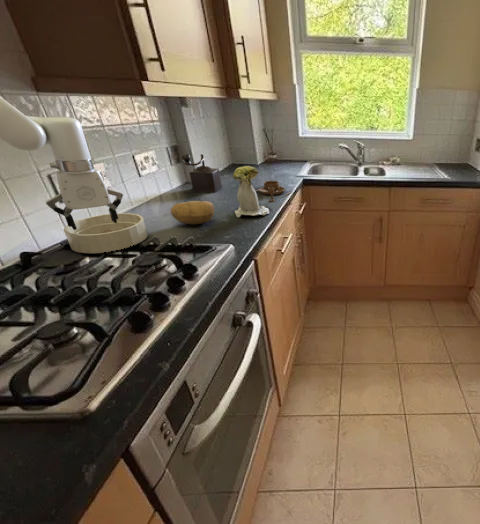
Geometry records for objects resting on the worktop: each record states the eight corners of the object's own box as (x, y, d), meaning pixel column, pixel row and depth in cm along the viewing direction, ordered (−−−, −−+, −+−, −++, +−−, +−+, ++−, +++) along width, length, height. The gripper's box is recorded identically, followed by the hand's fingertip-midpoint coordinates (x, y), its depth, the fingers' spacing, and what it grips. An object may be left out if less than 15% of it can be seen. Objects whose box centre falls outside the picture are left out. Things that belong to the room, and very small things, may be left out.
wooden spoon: (122, 245, 100) (120, 237, 98) (111, 247, 98) (108, 239, 97) (112, 232, 108) (109, 225, 107) (101, 234, 106) (98, 227, 105)
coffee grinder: (199, 187, 164) (191, 149, 156) (222, 187, 165) (216, 149, 157) (186, 195, 150) (177, 154, 142) (212, 195, 151) (204, 154, 143)
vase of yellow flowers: (268, 218, 127) (263, 169, 119) (233, 219, 124) (225, 169, 116) (269, 208, 137) (264, 163, 129) (236, 209, 134) (229, 163, 126)
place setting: (295, 191, 162) (294, 179, 160) (274, 202, 145) (273, 189, 142) (263, 188, 166) (261, 176, 163) (239, 198, 149) (237, 185, 146)
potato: (177, 220, 121) (172, 198, 118) (218, 218, 125) (215, 197, 121) (170, 229, 113) (164, 207, 109) (214, 227, 116) (210, 205, 113)
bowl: (57, 257, 92) (48, 237, 89) (88, 232, 109) (82, 214, 106) (137, 251, 97) (131, 232, 94) (155, 228, 114) (150, 211, 111)
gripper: (34, 171, 83) (58, 235, 90) (117, 165, 94) (132, 222, 102) (31, 166, 87) (54, 227, 95) (110, 161, 99) (126, 216, 106)
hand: (95, 225), depth 98 cm, fingers open, 9 cm apart
